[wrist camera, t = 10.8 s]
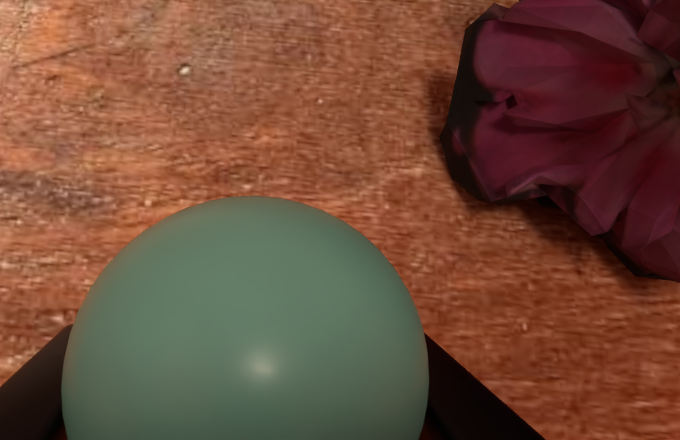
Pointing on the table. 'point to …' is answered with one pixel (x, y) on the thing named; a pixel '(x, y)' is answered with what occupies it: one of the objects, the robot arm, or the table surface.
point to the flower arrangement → (576, 119)
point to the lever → (247, 333)
